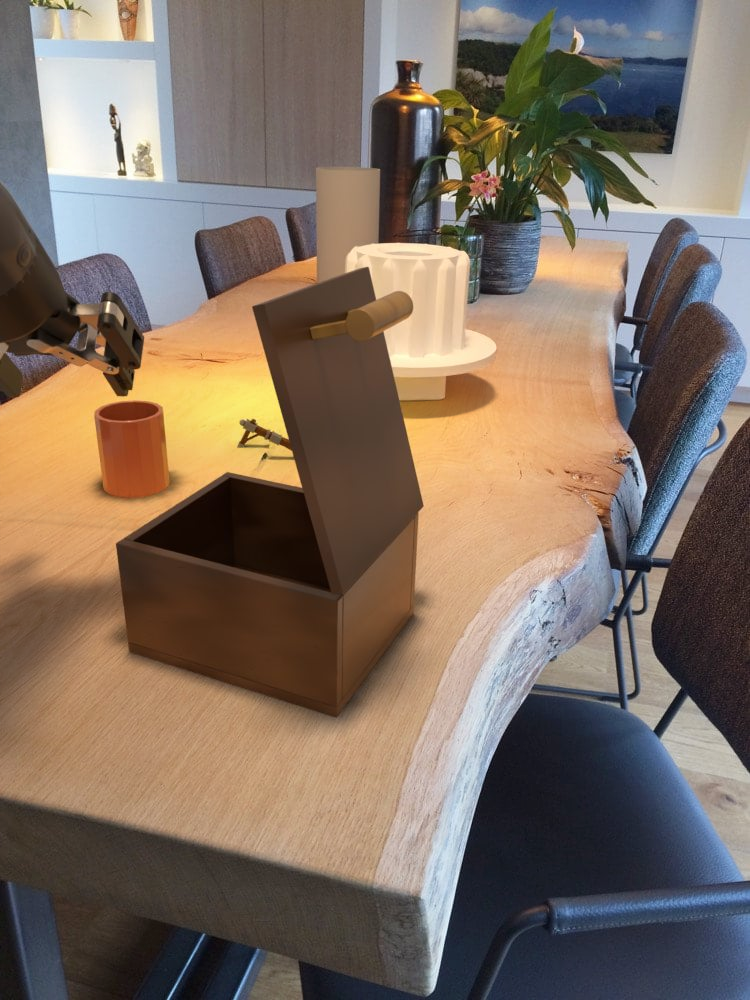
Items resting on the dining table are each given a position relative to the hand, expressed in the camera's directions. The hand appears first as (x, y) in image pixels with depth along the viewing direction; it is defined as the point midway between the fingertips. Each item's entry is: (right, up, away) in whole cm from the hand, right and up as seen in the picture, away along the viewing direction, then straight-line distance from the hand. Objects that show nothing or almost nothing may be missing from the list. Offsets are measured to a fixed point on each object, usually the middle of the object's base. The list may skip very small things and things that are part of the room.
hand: (70, 386), depth 65 cm
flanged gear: (+28, +7, +52) cm, 59 cm away
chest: (+17, -19, -3) cm, 25 cm away
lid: (+22, -4, -12) cm, 25 cm away
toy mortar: (+13, -4, +28) cm, 31 cm away
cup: (0, -8, +18) cm, 20 cm away
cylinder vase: (+18, +33, +107) cm, 114 cm away
